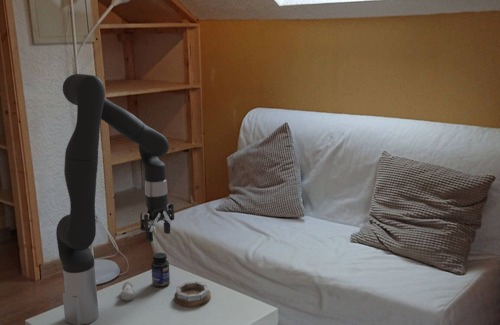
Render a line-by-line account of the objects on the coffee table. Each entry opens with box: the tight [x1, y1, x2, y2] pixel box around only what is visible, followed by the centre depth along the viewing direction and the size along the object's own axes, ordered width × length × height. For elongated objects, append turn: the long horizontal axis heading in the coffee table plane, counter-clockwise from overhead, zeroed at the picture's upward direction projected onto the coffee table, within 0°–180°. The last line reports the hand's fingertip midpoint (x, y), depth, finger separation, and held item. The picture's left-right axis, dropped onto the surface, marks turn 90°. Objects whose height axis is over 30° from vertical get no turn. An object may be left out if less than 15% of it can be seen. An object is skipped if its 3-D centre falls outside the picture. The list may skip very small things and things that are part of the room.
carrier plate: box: [174, 280, 212, 308], centre depth 176 cm, size 12×12×4 cm
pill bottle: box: [150, 252, 171, 289], centre depth 185 cm, size 6×6×11 cm
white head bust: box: [119, 281, 137, 302], centre depth 178 cm, size 4×8×5 cm
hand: (158, 237), depth 182 cm, fingers open, 8 cm apart
